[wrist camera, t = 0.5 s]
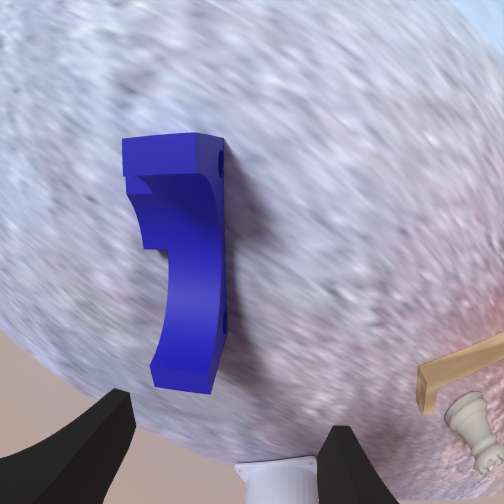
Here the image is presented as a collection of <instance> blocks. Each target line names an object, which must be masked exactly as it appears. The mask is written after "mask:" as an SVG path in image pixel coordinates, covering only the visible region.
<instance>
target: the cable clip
mask: <svg viewBox="0 0 504 504" xmlns="http://www.w3.org/2000/svg"><path fill="white" fill-rule="evenodd" d="M122 158H123V177H126V194H127V196H128V198H129V200H130V201H131V203H132V205H133V207H134V210H135V213H136V215H137V218H138V222H139V226H140V230H141V235H142V241H143V248H144V249H153V250H168V262H169V281H168V297H167V306H166V314H165V319H164V325H163V329H162V333H161V337H160V341H159V344H158V347H157V350H156V353H155V355H154V357H153V360H152V362H151V364H150V369H151V374H152V378H153V382H154V386H155V387H159V388H165V389H172V390H179V391H186V392H194V393H202V394H211V391H212V387H213V384H214V380H215V376H216V373H217V369H218V365H219V362H220V358H221V354H222V351H223V347H224V343H225V340H226V336H227V306H226V273H225V228H224V138H221V137H216V136H212V135H207V134H202V133H196V132H195V133H178V134H164V135H153V136H142V137H133V138H124V139H122Z"/></svg>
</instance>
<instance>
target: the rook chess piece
mask: <svg viewBox="0 0 504 504" xmlns="http://www.w3.org/2000/svg"><path fill="white" fill-rule="evenodd" d="M483 396H484V395H483V394H482V393H481V392H474V391H472V392H468V393H466V394H464V395H462V396H460V397H459V398H458V399H457V400H455V401H454V402H453V403H452V405H451V406H450V407H449V409H448V411H447V413H446V417H445V421H446V423H448V424H449V428H450V429H451V430H452V431H454V432H457V434H458V435H461V436H462V437H463V438H464V440H465V441H466V442H467V444H468V445H469V447H470V450H471V454H470V455H471V456H474V457H475V463H474V468H473V469H475V470H479V472H480V474H482V475H483V474H486V473H487V471H486V469H488V471H489V472H490V471H492V470H494V468H493V465H494V464H495V463H496V464H497V466H499V465H500V464H501V463H502V461H503V460H504V445H501V444H498V443H497V441H496V439H497V436H496V435H494V434H493V433H492V431H491V428H490V425H489V422H488V419H487V411H486V410H487V402H486V400H485V399H483ZM501 459H502V460H501Z"/></svg>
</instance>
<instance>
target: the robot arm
mask: <svg viewBox="0 0 504 504" xmlns="http://www.w3.org/2000/svg"><path fill="white" fill-rule="evenodd" d="M135 429H136V423H135V418H134V413H133V408H132V403H131V398H130V393H129V392H125V391H122V390H119V389H116V388H114V389H112V390H111V391H110V392H109V393H107V394H106V395H105V396H104V397H103V398H101V399H100V400H99V401H98V402H97V403H95V404H94V405H93V406H92V407H90V408H89V409H88V410H87V411H85V412H84V413H83V414H81V415H80V416H79V417H77V419H75V420H74V421H72V422H71V423H69V424H68V425H67V426H65V427H63V428H62V429H61V430H59V431H58V432H56V433H55V434H53V435H51V436H50V437H48V438H46V439H45V440H43V441H41V442H39V443H37V444H35V445H33V446H31V447H29V448H27V449H24V450H22V451H20V452H18V453H15V454H12V455H10V456H7V457H3V458H0V504H103V501H104V498H105V496H106V493H107V491H108V489H109V487H110V485H111V483H112V481H113V479H114V477H115V475H116V473H117V471H118V469H119V467H120V465H121V463H122V461H123V459H124V457H125V455H126V453H127V451H128V449H129V446H130V443H131V441H132V438H133V435H134V432H135ZM234 468H235V470H236V471H237V473H238V474H239V475H240V477H241V478H242V480H243V481H244V482H245V484H246V494H245V501H244V504H318V498H319V504H399V503H398V501H397V500H396V499H395V498H394V496H393V495H392V494H391V493H390V491H389V490H388V489H387V487H386V486H385V484H384V483H383V482H382V480H381V479H380V477H379V476H378V474H377V472H376V471H375V469H374V468H373V466H372V465H371V463H370V461H369V460H368V458H367V456H366V454H365V453H364V451H363V449H362V447H361V446H360V444H359V442H358V440H357V438H356V436H355V435H354V433H353V431H352V429H351V427H350V426H333V427H332V429H331V431H330V433H329V435H328V437H327V439H326V441H325V442H324V444H323V446H322V448H321V450H320V452H319V454H318V456H317V460H316V457H315V456H306V457H299V458H292V459H284V460H276V461H266V462H254V463H238V464H235V466H234Z"/></svg>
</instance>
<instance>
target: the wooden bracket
mask: <svg viewBox="0 0 504 504" xmlns="http://www.w3.org/2000/svg"><path fill="white" fill-rule="evenodd" d="M503 358H504V331H503V332H501V333H499V334H497V335H494V336H492V337H490V338H488V339H486V340H484V341H481V342H479V343H477V344H475V345H472V346H470V347H468V348H465V349H463V350H460V351H458V352H455V353H453V354H450V355H448V356H445V357H443V358H440V359H437V360H434V361H432V362H429V363H426V364H423V365H420V366H418V381H417V394H416V400H417V403H418V405H419V407H420V410H421V412H422V414H423V415H426V414H429V413H431V412H434V409H435V403H436V397H437V390H438V387H441V386H443V385H446V384H448V383H451V382H453V381H456V380H458V379H460V378H463V377H465V376H467V375H470V374H472V373H474V372H476V371H478V370H481V369H483V368H485V367H487V366H489V365H491V364H493V363H495V362H497V361H499V360H501V359H503Z"/></svg>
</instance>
